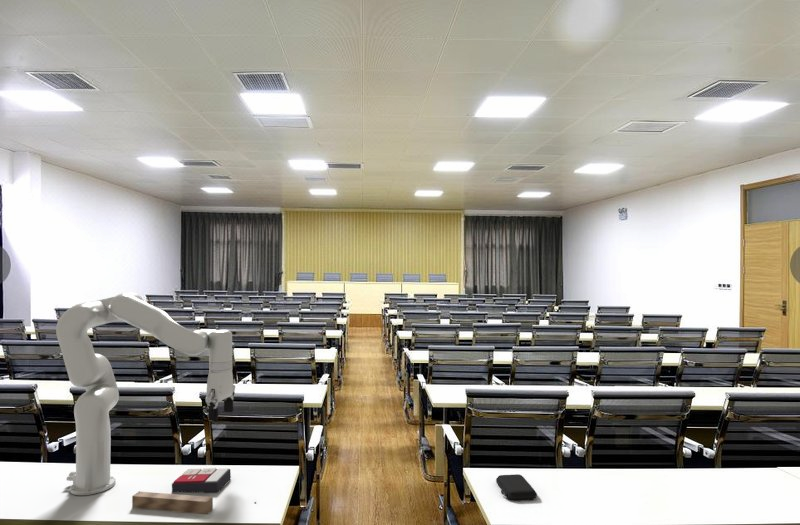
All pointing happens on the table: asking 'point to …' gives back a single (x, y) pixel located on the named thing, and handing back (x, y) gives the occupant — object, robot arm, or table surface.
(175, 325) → the robot arm
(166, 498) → the bar
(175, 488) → the calculator
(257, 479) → the table surface
